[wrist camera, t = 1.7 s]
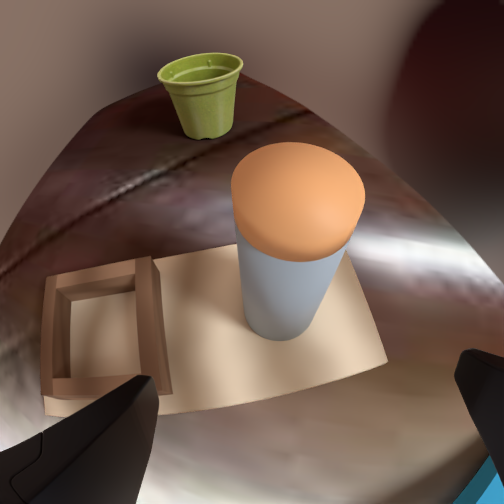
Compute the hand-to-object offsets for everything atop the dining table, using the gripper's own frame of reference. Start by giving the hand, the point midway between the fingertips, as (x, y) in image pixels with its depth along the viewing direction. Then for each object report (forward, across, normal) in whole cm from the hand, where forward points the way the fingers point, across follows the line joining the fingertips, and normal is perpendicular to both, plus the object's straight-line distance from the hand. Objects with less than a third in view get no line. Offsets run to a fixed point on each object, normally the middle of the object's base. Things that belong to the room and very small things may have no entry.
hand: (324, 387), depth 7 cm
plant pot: (+31, +7, -12) cm, 34 cm away
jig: (+13, +6, +5) cm, 16 cm away
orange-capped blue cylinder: (+13, 0, +4) cm, 14 cm away
